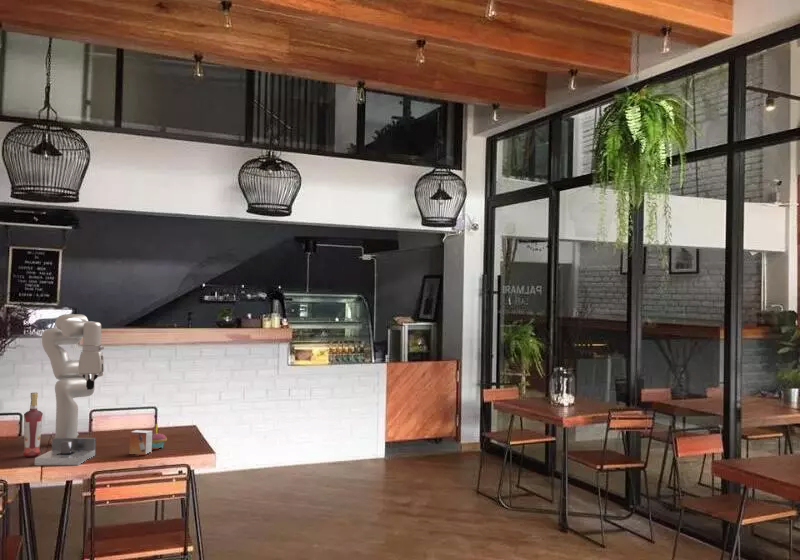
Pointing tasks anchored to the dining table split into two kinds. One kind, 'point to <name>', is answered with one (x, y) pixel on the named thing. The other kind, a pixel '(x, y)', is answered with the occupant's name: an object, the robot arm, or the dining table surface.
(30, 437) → the liquor
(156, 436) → the cupcake
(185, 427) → the dining table surface
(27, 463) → the dining table surface
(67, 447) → the bushing
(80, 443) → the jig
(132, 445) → the small box
